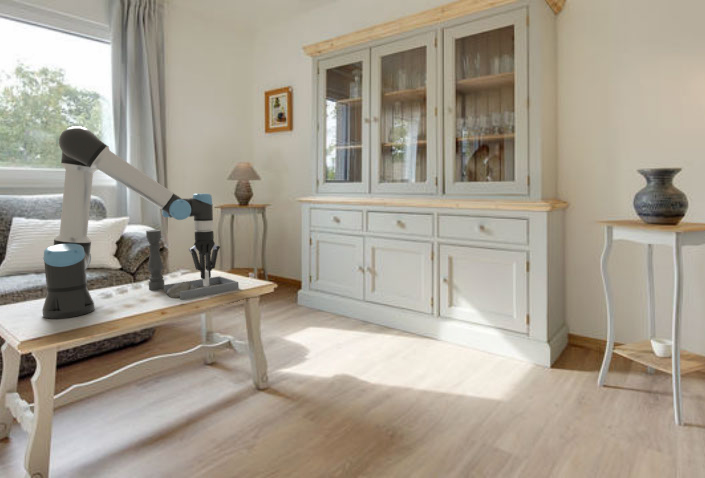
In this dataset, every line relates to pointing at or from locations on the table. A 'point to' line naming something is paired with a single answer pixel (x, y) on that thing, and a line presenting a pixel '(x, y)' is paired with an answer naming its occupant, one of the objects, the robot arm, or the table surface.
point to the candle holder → (155, 260)
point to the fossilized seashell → (179, 289)
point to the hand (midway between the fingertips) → (206, 285)
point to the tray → (225, 286)
